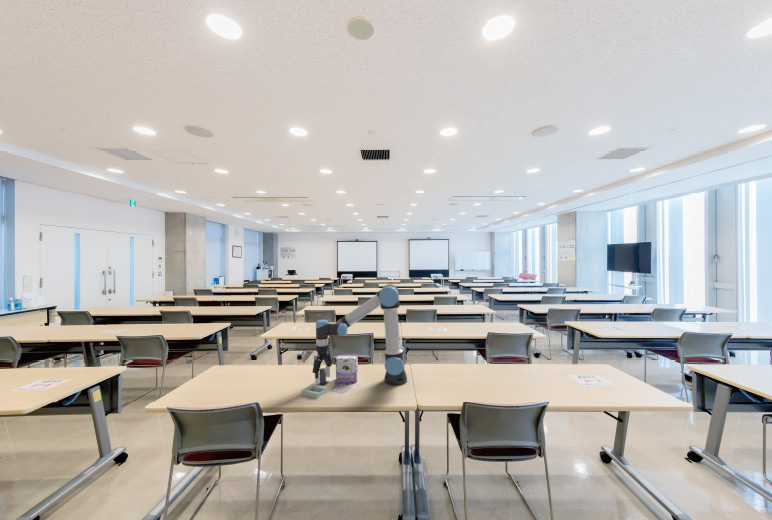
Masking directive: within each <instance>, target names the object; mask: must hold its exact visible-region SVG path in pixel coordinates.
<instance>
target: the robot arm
mask: <svg viewBox="0 0 772 520" xmlns="http://www.w3.org/2000/svg"><path fill="white" fill-rule="evenodd" d="M378 308H380V309H381V311H383V321H384V322H383V323H384V335H385V346H386V349H385V350H384V352H383V353H384V369H385V373H384V376H383V377H384V378H383V380H384V383H386V384H388V385H391V386H400V385H404V384H406V383H407V382H408V376H407V372H406V370H405V347H404V346H403V345H401V340H400V339H401V338H400V328H399V317H398V316H399V314H398V309H400V291H399V289H398V287H397V286H396V285H394V284H391V283H390V284H386V285H384V286H383V287H382V288H381V289H380V290H378V291H377V292H376V293H375V295H374V296H373V297H371V298H370V299H368V300H367V301H365V302H364V303H362V304H361V305H358V307H356V308H355V309H353V310H351V312H349V313H347V314H346V315H345V316H343V317H342V318H339V319H338V320H337V321H336V322H335V323H330V322H329V321H328V320H327V319H319V320H317V321H316V323H315V343H316V346H315V347H316V348H315V349H316V350H315V351H316V352H317V354H316V355H314V356H313V358H314V359H313V360H314V361H313V364H312V365H313V367H312V374H314V378H315V379H314V382H315V383H320V371H319V369H321V366H322V362H323V361H324V363H325V369H326V378H330V377H331V367H332V364H333V361H332V357H331V350H330V349H329V336H333V337H334V336H335V337H339V336H340V337H342V336H343V337H344V336H346V335H347V334H348V328H349V327H351V326H352V325H354V324H355V323H357V322H358V321H360V320H362V319H363V318H365V317H366V316H367V315H369V314H371V313H372V312H374V311H375V310H377V309H378Z"/></svg>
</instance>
